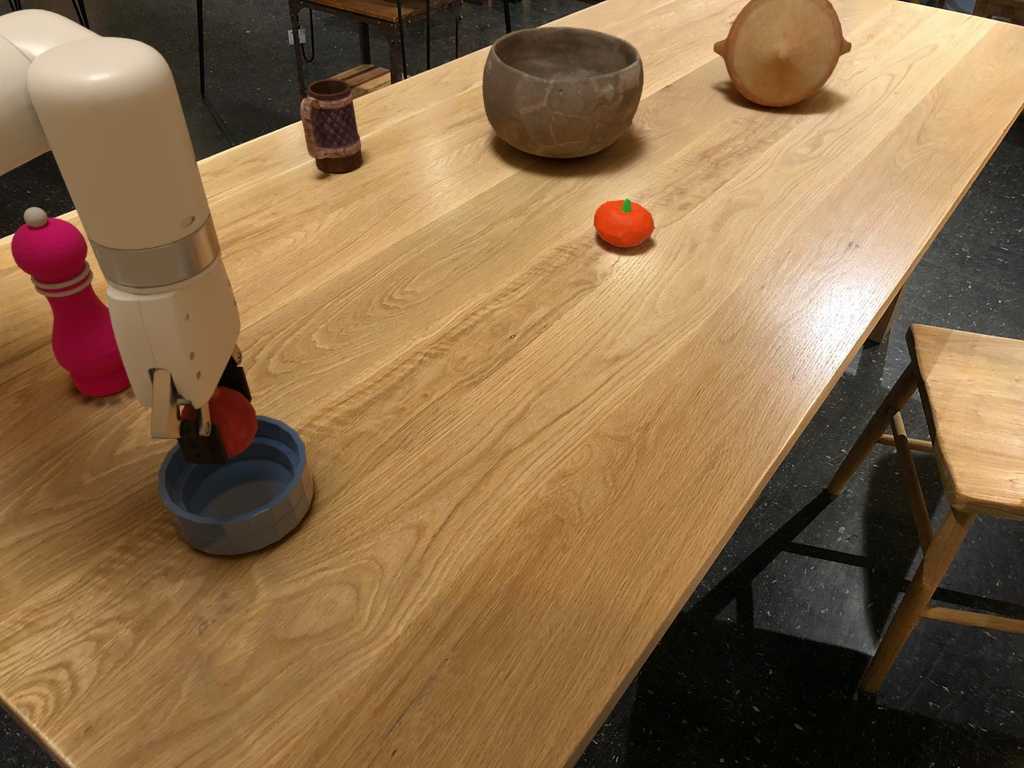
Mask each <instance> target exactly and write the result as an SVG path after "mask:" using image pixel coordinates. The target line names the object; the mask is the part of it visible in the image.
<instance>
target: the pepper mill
mask: <svg viewBox="0 0 1024 768" xmlns="http://www.w3.org/2000/svg"><path fill="white" fill-rule="evenodd" d="M23 219H24V222H25V223H24V224H22V225H21V226H20V227H19V228H18V229H17V230H16V231H15V232H14V234H13V236H12V239H11V243H10V249H11V250H10V251H11V256H12V258H13V261H14V263H15V264H16V266H17V267H18V268H19V269H20V270H22V271H23V273H25V274H27V275H29V276H30V281H31V283H32V284H33V286H34V289H35V291H36V292H37V293H38V294H39V295H41V296H44V297H45V298H46V300H47V302H48V304H49V306H50V308H51V309H50V310H51V311H52V318H53V320H52V321H53V323H52V330H51V348H52V352H53V356H54V358H55V360H56V362H57V363H58V365H59V366H60V367H61V368H63V369H64V370H66V371H67V372H69V376H70V379H71V380H72V382H73V384H74V386H75V388H76V389H77V390H78V391H79V392H80V393H81V394H83V395H86V396H89V397H90V396H91V397H106V396H111V395H114V394H116V393H119V392H122V391H123V390H125V389H127V388H129V386H131V383H130V381H129V378H128V375H127V372H126V370H125V367H124V364H123V361H122V358H121V355H120V351H119V348H118V345H117V342H116V338H115V335H114V331H113V327H112V323H111V318H110V313H109V308H108V305H106V304H104V302H103V301H102V300H101V299H100V298H99V296H97V294H96V292H95V290H94V288H93V285H92V281H93V279H94V273H93V272H94V271H92V269H91V265H90V263H89V262H88V261H87V260H86V259H87V256H88V243H87V241H86V239H85V236H84V235H83V233H82V232H81V231H80V230H79V229H78V227H76V226H75V225H74V224H73V223H71V222H69V221H66V220H65V219H61V218H58V217H48V214H47V213H46V211H45V210H43V209H42V208H40V207H37V206H31V207H29V208H26V210H25V211H24V213H23Z"/></svg>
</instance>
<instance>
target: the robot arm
mask: <svg viewBox="0 0 1024 768" xmlns="http://www.w3.org/2000/svg"><path fill="white" fill-rule="evenodd" d="M181 103H182V102H181V100H180V96H179V93H178V89H177V85H176V81H175V79H174V75H173V72H172V70H171V68H170V66H169V64H168V62H167V60H166V58H164V57H163V55H162V54H161V53H160V52H159V51H158V50H157V49H156V48H154V47H153V46H151V45H148V43H147V44H146V43H144V42H142V41H139V40H136V39H132V38H125V37H117V36H116V37H115V36H101V35H99V34H98V33H96V32H94V31H92V30H90V29H88V28H87V27H85V26H83V25H81V24H79V23H78V22H75V21H74V20H71V19H69V18H68V17H66V16H64V15H61V14H59V13H56V12H53V11H50V10H46V9H37V8H31V9H30V8H29V9H21V10H15V11H12V12H9V13H6V14H3V15H0V177H1V176H3V175H5V174H7V173H9V172H11V171H13V170H14V169H17V168H19V167H20V166H22V165H24V164H26V163H28V162H29V161H32V160H33V159H36V158H38V157H39V156H41V155H44V154H46V153H47V152H52V154H53V157H54V160H55V161H56V164H57V166H58V167H57V168H59V171H60V173H61V177H62V179H63V181H64V183H65V186H66V188H67V191H68V193H69V196H70V199H71V200H72V203H73V205H74V208H75V210H76V213H77V215H78V217H79V220H80V223H81V225H82V227H83V231H84V232H85V234H86V237H87V240H88V242H89V245H90V247H91V249H92V251H93V254H94V256H95V259H96V261H97V264H98V266H99V269H100V271H101V273H102V277H103V278H104V280H105V281H106V283H107V284H108V286H107V290H106V292H105V293H106V299H107V307H108V308H109V313H110V318H111V323H112V327H113V331H114V335H115V338H116V342H117V345H118V348H119V351H120V355H121V358H122V361H123V364H124V367H125V370H126V372H127V375H128V378H129V381H130V383H131V385H130V386H131V388H132V391H133V394H134V396H135V398H136V400H137V401H138V403H139V405H140V406H142V407H143V408H151V414H150V415H151V417H150V418H151V419H150V436H151V438H152V439H157V440H158V439H159V440H160V439H161V440H174V439H176V440H177V443H179V446H180V448H181V450H182V453H183V455H184V458H185V460H186V461H187V462H188V463H191V464H213V465H224V464H226V462H227V459H228V456H227V453H226V450H225V447H224V444H223V441H222V438H221V435H220V432H219V429H218V426H217V425H214V424H211V420H210V412H209V403H208V401H209V399H210V398H211V396H212V394H213V392H214V390H215V388H216V386H222V387H227V388H230V389H233V390H235V391H238V392H240V393H241V394H242V395H243V396H244V397H245V398H246V399H247V400H248V401H249V402H250V403H251V404H252V400H253V397H252V393H251V390H250V387H249V383H248V380H247V376H246V373H245V369H244V367H243V366H241V365H242V362H243V352H242V350H241V349H240V347H239V346H238V344H237V342H238V341H239V337H240V334H241V326H242V324H241V317H240V312H239V308H238V304H237V300H236V297H235V294H234V290H233V287H232V284H231V281H230V279H229V274H228V272H227V269H226V267H225V265H224V264H225V263H224V261H223V260H222V259H223V258H222V247H221V245H220V242H219V238H218V233H217V231H216V227H215V223H214V220H213V216H212V213H211V209H210V206H209V202H208V198H207V195H206V194H207V193H206V191H205V186H204V184H203V180H202V176H201V172H200V168H199V165H198V162H197V159H196V155H195V151H194V148H193V144H192V140H191V135H190V133H189V129H188V126H187V122H186V119H185V115H184V111H183V107H182V104H181ZM180 406H182V407H184V406H194V408H195V412H196V419H181V408H180Z"/></svg>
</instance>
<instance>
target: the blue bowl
mask: <svg viewBox="0 0 1024 768" xmlns="http://www.w3.org/2000/svg"><path fill="white" fill-rule="evenodd" d="M256 418H257V425H258V429H257V431H256V434H255V436H254V438H253V440H252V443H251V444H250V445H249V446H248V447H247V448H246V449H245V450H244V451H243V452H241V453H239V454H237V455H236V456H234V457H231V458H228V459H227V462H226V464H224V465H213V464H191V463H188V462H187V461H186V460H185V458H184V455H183V453H182V450H181V448H180V446H179V443H178V442H176V444H175V445H174V446H173V447H172V448H171V449H170V450H169V451H168V452H167V453H166V455H165V457H164V459H163V460H162V463H161V465H160V466H159V467H160V468H159V469H158V474H157V491H158V493H159V497H160V498H161V501H162V503H163V505H164V507H165V509H166V511H167V514H168V516H169V519H170V520H171V522H172V524H173V527H174V529H175V531H176V534H177V535H178V536H179V538H181V539H182V540H183V541H184V542H185V543H187V544H188V545H189V546H190V547H192V548H194V549H196V550H199V551H201V552H203V553H204V552H205V553H208V554H210V555H222V556H237V555H241V554H246V553H251V552H256V551H259V550H262V549H264V548H266V547H268V546H270V545H272V544H274V543H276V542H278V541H281V540H282V539H283V538H284V537H285V536H287V535H288V534H289V533H290V532H292V531H293V530H294V529H295V528H296V527H297V526H298V525H300V523H301V521H302V520H303V518H304V517H305V516H306V514H307V513H308V511H309V509H310V507H311V503H312V501H313V500H312V499H313V496H314V492H315V489H314V481H313V474H312V469H311V465H310V461H309V458H308V453H307V449H306V448H307V447H306V445H305V442H304V441H303V439H302V437H301V436H300V435H299V433H298V432H297V431H296V429H294V428H293V427H291V426H290V425H288V424H287V423H285V422H284V421H282V420H279V419H277V418H274V417H271V416H266V415H259V414H256Z"/></svg>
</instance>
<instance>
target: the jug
mask: <svg viewBox="0 0 1024 768" xmlns="http://www.w3.org/2000/svg"><path fill="white" fill-rule="evenodd" d="M842 28H843V27H842V23H841V21H840V19H839V15H838V12H837V11H836V9H835V8H834V6H833V4H832V2H831V1H829V0H749V2H748V3H746V4H745V5H744V7H742V9H741V10H740V12H739V13H738V14H737V15H736V17H735V19H734V21H733V22H732V24H731V26H730V28H729V30H728V34H727V36H726V37H725V38H724V39H722V40H719V41H715V43H714V44H713V49H712V50H713V52H714V53H715V54H717V55H718V56H720V57H721V58H722V60H723V61H724V65H725V68H726V71H727V74H728V76H729V79H730V80H731V82H732V84H733V86H734V87H735V89H736V91H738V93H740V94H741V95H742V96H743V97H744V98H745V99H746V100H748V101H750V102H752V103H755V104H757V105H761V106H765V107H766V106H767V107H774V108H775V107H776V108H781V107H787V106H793V105H796V104H799V103H800V102H802V101H804V100H807V99H808V98H809V97H812V96H813V95H814V94H815V93H817V92H818V91H819V90H820V89H821V88H822V87H824V85H826V83H827V82H828V80H829V79H830V78H831V76H832V75H833V73H834V71H835V69H836V67H837V65H838V63H839V60H840V58H841V57H842V56H844V55H845V54H848V53H850V52H851V50H852V47H853V46H852V42H850V41H848V40H846V38H844V37H845V36H844V35H843V29H842Z"/></svg>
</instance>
